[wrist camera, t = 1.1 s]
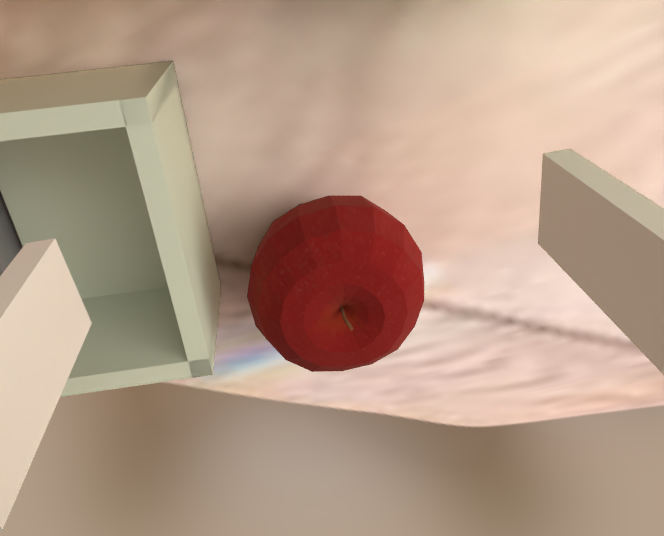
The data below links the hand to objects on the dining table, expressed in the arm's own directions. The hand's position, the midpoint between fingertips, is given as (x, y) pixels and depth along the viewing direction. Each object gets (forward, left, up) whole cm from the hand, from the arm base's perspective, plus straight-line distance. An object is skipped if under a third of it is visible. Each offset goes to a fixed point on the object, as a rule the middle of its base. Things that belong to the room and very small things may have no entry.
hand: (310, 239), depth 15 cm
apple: (+11, +2, -23) cm, 26 cm away
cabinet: (+6, -15, -23) cm, 28 cm away
